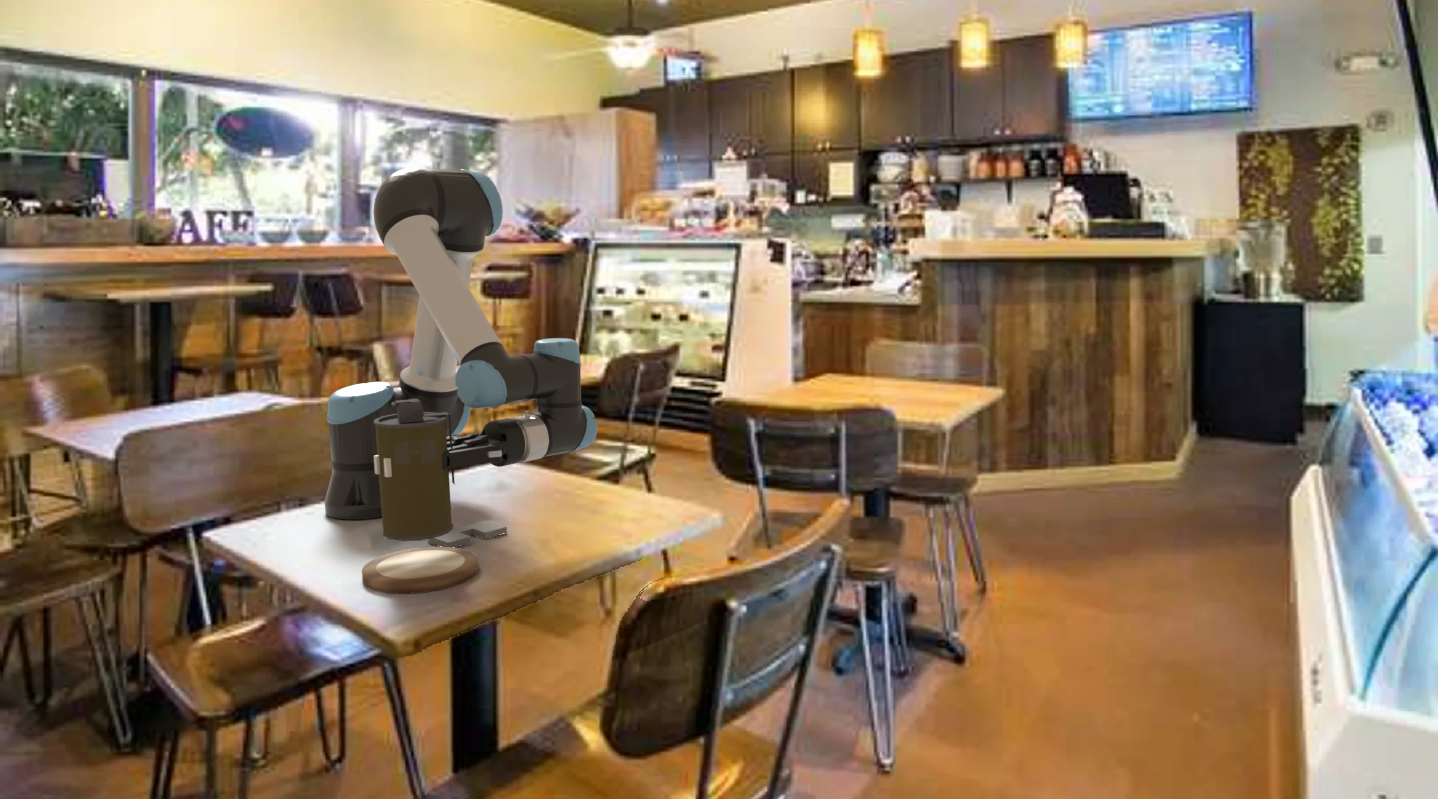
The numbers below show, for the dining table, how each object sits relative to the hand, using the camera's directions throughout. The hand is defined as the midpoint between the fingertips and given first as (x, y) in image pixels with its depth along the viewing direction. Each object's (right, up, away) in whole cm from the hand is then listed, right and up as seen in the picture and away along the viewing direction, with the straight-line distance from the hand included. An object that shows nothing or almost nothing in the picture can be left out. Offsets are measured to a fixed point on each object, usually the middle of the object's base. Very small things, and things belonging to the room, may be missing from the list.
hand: (380, 466), depth 145 cm
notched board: (+7, -14, +25) cm, 29 cm away
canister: (+4, -10, +6) cm, 12 cm away
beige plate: (+4, -17, +7) cm, 19 cm away
